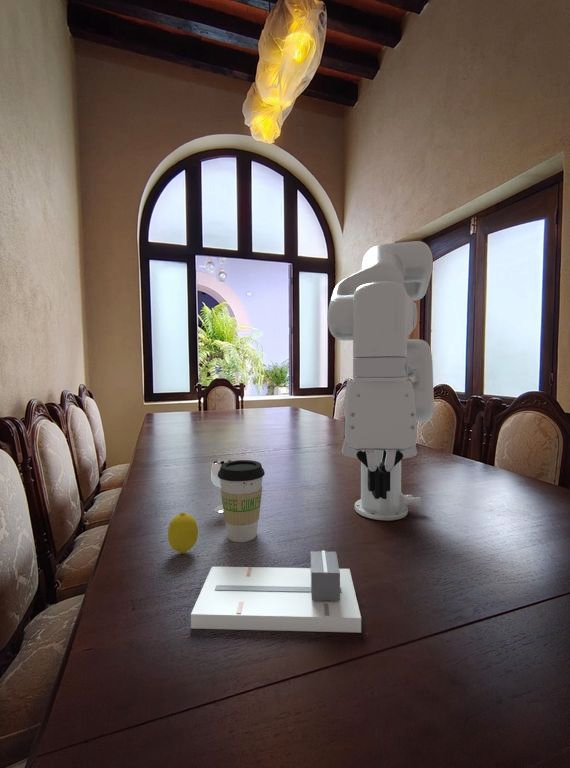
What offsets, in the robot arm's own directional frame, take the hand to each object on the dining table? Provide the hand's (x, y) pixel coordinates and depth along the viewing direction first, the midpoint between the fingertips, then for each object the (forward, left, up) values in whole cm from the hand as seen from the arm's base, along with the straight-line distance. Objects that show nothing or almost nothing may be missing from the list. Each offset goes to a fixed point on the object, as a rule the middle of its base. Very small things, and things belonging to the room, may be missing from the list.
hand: (378, 495), depth 54 cm
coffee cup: (+24, -22, -17) cm, 37 cm away
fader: (+8, 0, -14) cm, 16 cm away
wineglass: (+31, -36, -17) cm, 51 cm away
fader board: (+15, 0, -17) cm, 22 cm away
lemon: (+34, -14, -17) cm, 40 cm away
